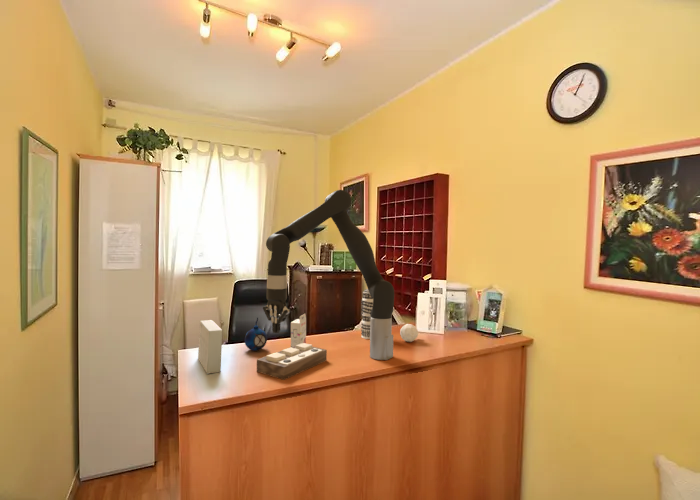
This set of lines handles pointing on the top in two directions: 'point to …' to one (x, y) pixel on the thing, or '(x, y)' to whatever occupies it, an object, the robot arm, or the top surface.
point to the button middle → (291, 352)
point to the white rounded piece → (409, 332)
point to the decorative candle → (366, 313)
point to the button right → (303, 347)
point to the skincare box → (210, 346)
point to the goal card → (299, 356)
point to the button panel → (290, 365)
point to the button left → (276, 357)
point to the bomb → (255, 338)
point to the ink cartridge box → (298, 331)
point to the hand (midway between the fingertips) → (276, 332)
